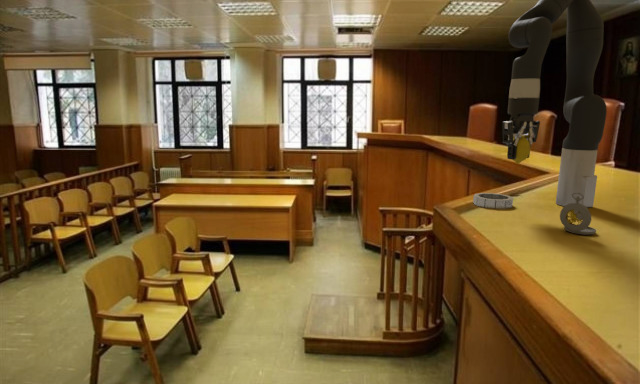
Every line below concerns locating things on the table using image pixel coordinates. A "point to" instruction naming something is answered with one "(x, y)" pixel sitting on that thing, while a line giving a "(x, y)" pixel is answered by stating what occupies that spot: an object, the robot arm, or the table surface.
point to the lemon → (522, 149)
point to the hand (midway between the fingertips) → (518, 158)
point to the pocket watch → (577, 217)
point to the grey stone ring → (493, 200)
